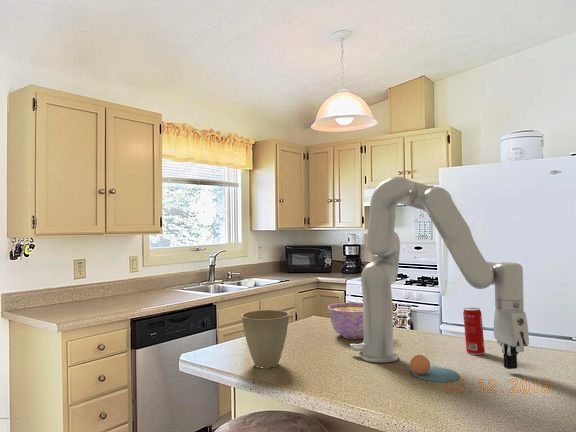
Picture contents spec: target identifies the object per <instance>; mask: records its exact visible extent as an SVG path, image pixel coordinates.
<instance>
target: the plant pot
mask: <svg viewBox="0 0 576 432" xmlns="http://www.w3.org/2000/svg"><path fill="white" fill-rule="evenodd" d="M289 318H290V313H289V312H288V311H284V310H278V309H260V310H251V311H247V312H244V313H242V314H241V319H242V326H243V332H244V337H245V340H246V343H247V348H248V350H249V353H250V356H251V359H252V361H253V364H254V366H255V367H256V366H258V367H263V368H262V369H270V368H269V367H273V368H275V366H276V367H277V366H279V363H280V360H281V357H282V354H283V350H284V348H285V342H286V338H287V333H288V332H287V331H288V326H289V320H290V319H289ZM258 367H257V368H258Z"/></svg>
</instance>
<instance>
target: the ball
mask: <svg viewBox="0 0 576 432" xmlns="http://www.w3.org/2000/svg"><path fill="white" fill-rule="evenodd" d="M410 359H411V360H410V362H409V365H410V366H409V367H410V370H411V372H412V371H413V372H414V373H415V374H417V375H425V374H426V373H428V371H429V369H430V367H431V363H430V360H429V359H428V357H426V356H424V355H422V354H416V355H414V356H413V357H412V358H410Z"/></svg>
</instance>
